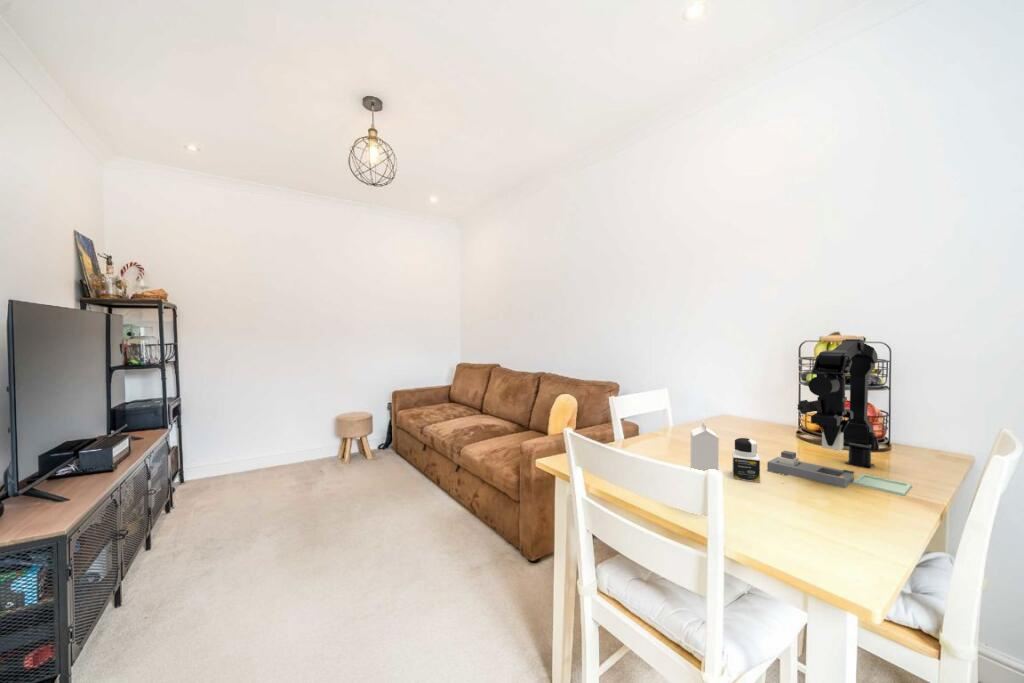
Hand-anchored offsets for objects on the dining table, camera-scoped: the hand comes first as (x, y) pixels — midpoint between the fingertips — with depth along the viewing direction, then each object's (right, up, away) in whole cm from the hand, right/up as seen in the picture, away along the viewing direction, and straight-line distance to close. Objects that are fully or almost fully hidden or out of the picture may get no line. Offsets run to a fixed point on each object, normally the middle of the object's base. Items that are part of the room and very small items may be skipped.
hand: (832, 444), depth 119 cm
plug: (0, -1, 0) cm, 1 cm away
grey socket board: (-4, -11, +5) cm, 13 cm away
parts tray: (+11, -12, -4) cm, 17 cm away
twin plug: (-7, -12, +9) cm, 16 cm away
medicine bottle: (-24, -12, +5) cm, 27 cm away
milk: (-46, -12, -15) cm, 50 cm away
